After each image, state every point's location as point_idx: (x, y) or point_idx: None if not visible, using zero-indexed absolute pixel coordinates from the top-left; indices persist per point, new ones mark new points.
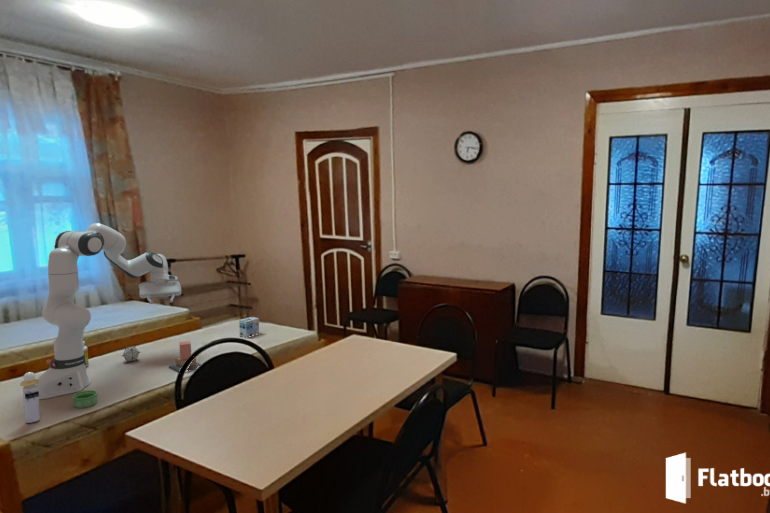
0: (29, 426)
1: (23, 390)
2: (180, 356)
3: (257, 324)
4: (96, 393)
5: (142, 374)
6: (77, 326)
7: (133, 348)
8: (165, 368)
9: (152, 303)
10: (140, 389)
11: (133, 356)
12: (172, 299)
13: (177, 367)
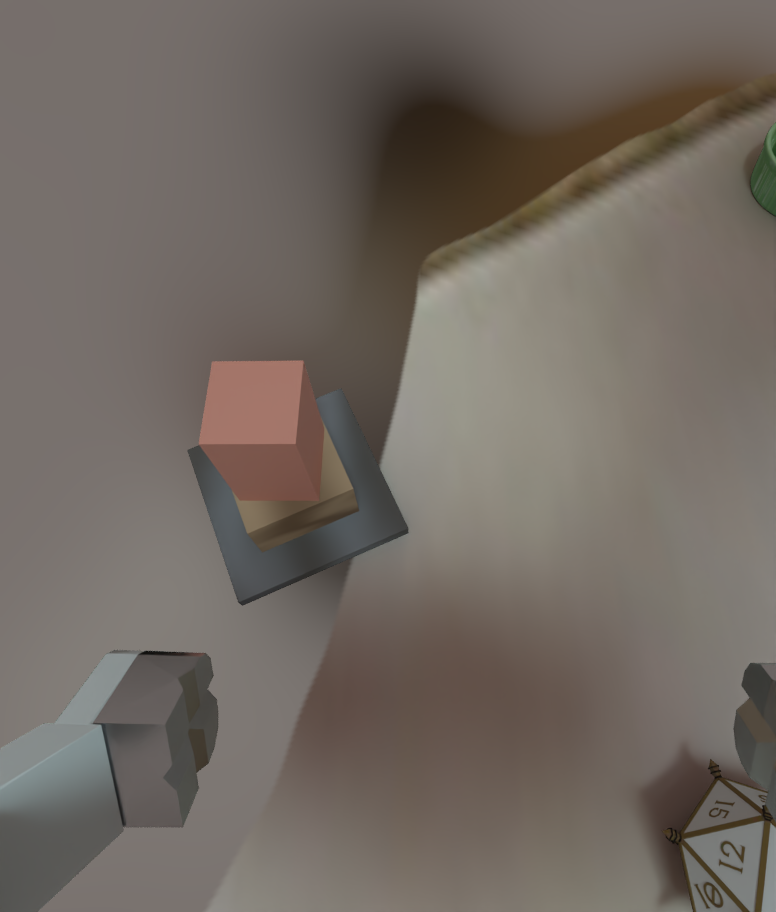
0: None
1: None
2: (319, 413)
3: None
4: (768, 140)
5: (580, 475)
6: None
7: (756, 858)
8: (431, 531)
9: (752, 698)
10: (563, 259)
11: (715, 785)
12: (94, 673)
13: (353, 472)
